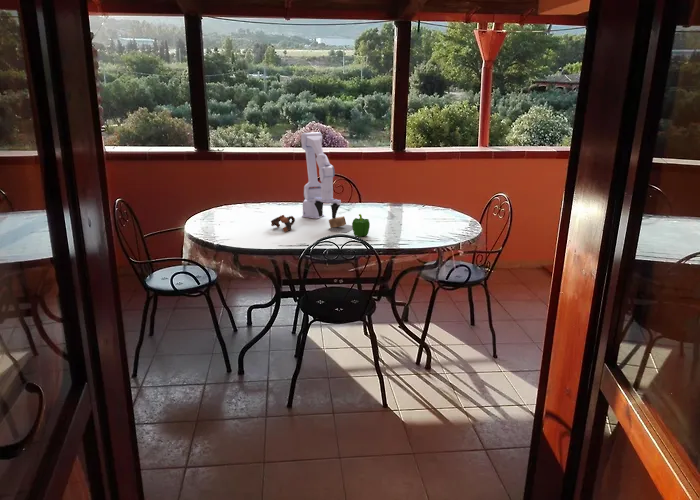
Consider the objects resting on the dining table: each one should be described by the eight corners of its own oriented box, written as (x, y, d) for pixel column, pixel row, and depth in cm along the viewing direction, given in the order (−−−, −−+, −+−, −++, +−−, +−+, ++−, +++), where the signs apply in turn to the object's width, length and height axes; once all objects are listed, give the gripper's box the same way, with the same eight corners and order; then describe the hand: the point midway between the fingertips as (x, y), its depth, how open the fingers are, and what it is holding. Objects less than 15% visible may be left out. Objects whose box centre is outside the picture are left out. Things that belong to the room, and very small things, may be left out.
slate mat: (328, 230, 269) (328, 229, 269) (340, 224, 279) (340, 223, 279) (346, 233, 264) (346, 232, 264) (357, 226, 274) (357, 226, 274)
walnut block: (328, 220, 272) (340, 218, 268) (332, 218, 275) (344, 216, 272) (330, 227, 273) (342, 226, 269) (334, 225, 276) (346, 224, 272)
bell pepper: (368, 238, 256) (368, 218, 253) (350, 237, 258) (351, 217, 254) (370, 233, 264) (370, 213, 261) (353, 232, 265) (353, 212, 262)
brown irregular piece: (280, 234, 263) (272, 219, 263) (274, 238, 272) (266, 223, 271) (300, 224, 269) (293, 209, 268) (294, 228, 277) (286, 213, 277)
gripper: (310, 190, 270) (310, 217, 274) (335, 193, 263) (335, 220, 267) (317, 187, 275) (318, 213, 280) (342, 190, 269) (342, 217, 273)
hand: (327, 217), depth 274 cm, fingers open, 7 cm apart
